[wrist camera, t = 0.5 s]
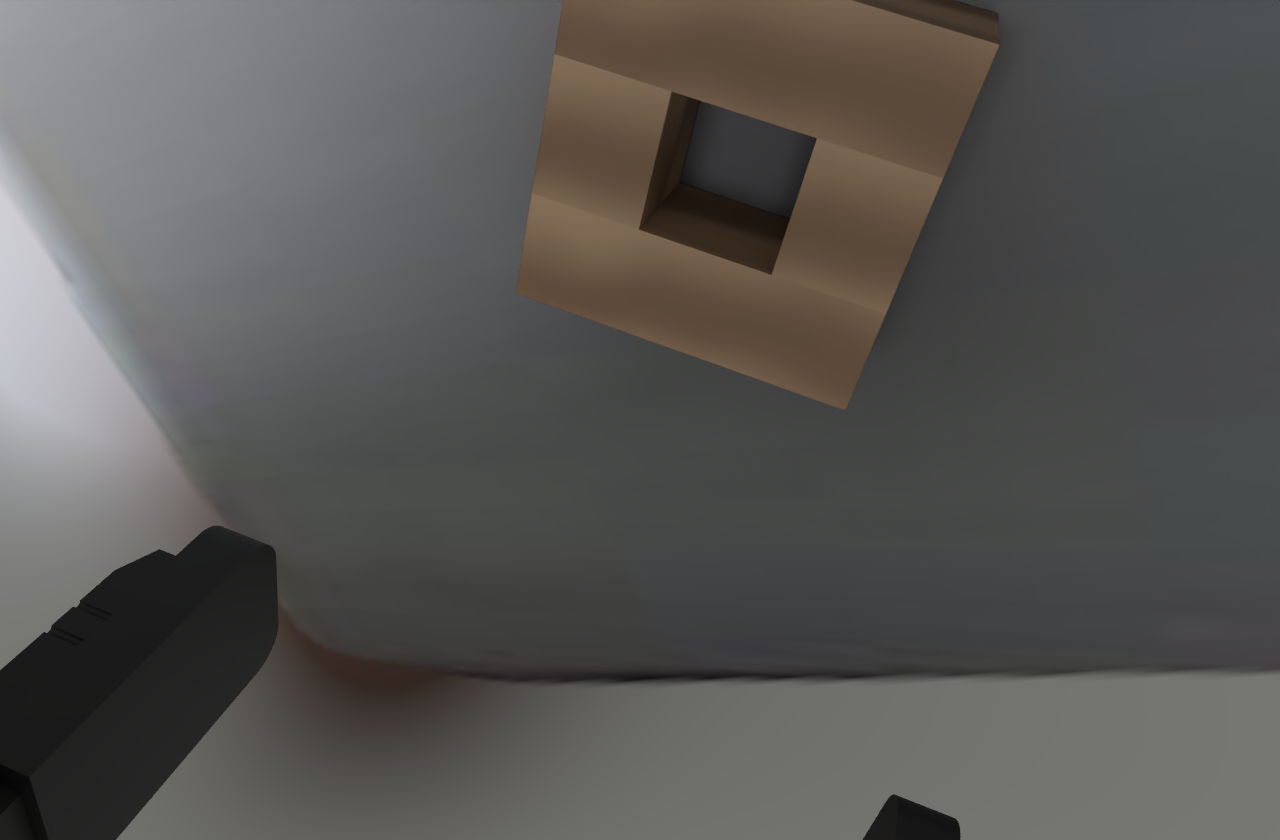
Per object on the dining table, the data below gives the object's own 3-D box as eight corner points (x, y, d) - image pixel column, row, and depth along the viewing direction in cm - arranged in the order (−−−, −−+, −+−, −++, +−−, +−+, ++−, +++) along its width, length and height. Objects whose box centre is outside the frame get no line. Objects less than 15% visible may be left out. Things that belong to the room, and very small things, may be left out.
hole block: (630, -96, 31) (576, -83, 27) (998, 13, 29) (999, 44, 25) (566, 242, 38) (515, 292, 34) (861, 344, 36) (845, 410, 32)
